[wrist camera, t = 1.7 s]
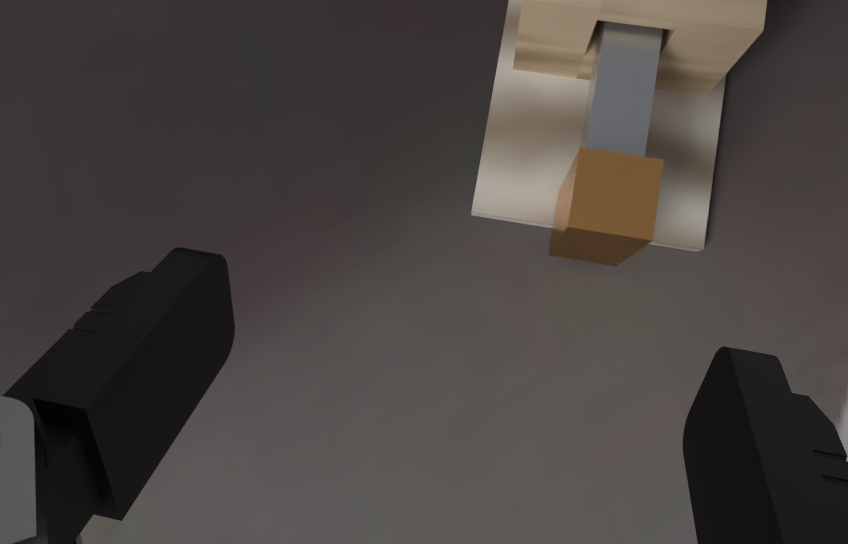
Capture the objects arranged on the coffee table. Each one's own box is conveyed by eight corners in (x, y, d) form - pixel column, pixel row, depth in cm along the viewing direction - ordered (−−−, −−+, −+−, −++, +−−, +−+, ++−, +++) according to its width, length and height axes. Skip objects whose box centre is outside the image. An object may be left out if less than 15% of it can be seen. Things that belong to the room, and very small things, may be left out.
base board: (697, 251, 40) (703, 249, 39) (471, 215, 41) (471, 211, 40) (744, -103, 43) (750, -114, 42) (532, -126, 44) (533, -137, 43)
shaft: (615, 266, 39) (652, 240, 31) (548, 255, 39) (567, 226, 31) (667, -86, 42) (713, -192, 34) (604, -93, 42) (634, -199, 34)
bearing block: (700, 103, 41) (763, 30, 32) (511, 76, 42) (522, -1, 34) (714, 0, 42) (778, -97, 33) (529, -23, 43) (543, -123, 34)
